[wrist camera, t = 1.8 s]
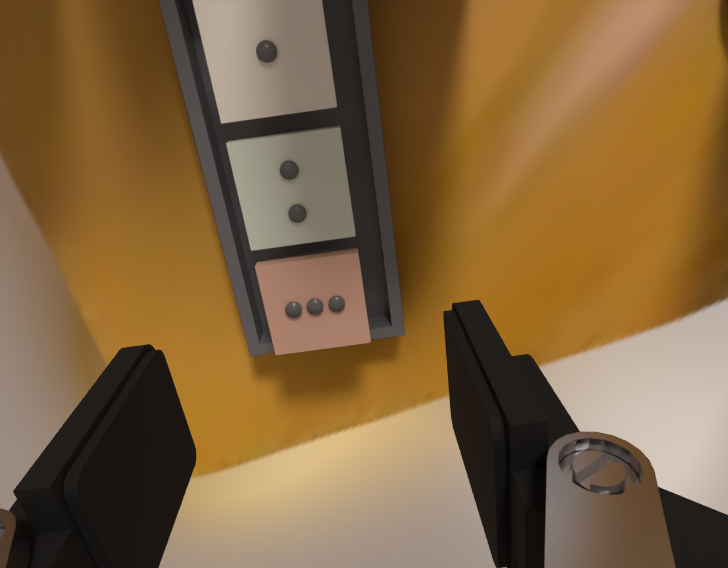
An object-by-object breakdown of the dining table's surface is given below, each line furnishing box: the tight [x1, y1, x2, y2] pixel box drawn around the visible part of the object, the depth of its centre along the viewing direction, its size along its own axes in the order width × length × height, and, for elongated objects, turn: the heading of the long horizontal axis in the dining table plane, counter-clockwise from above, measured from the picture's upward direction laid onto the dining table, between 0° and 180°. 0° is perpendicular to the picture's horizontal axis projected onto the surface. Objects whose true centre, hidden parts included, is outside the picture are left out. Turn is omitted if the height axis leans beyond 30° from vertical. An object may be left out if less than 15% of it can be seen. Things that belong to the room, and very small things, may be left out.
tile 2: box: [226, 126, 356, 251], centre depth 29 cm, size 6×6×3 cm
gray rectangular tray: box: [159, 0, 405, 356], centre depth 31 cm, size 11×23×2 cm, turn 8°
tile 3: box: [255, 245, 371, 355], centre depth 32 cm, size 6×6×3 cm
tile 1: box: [192, 0, 337, 124], centre depth 26 cm, size 6×6×3 cm
